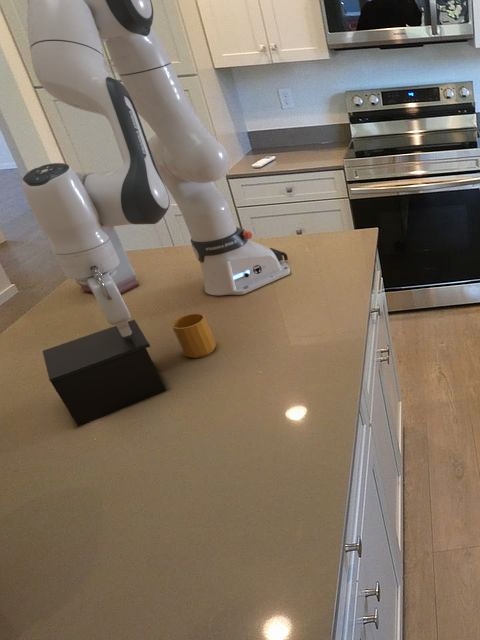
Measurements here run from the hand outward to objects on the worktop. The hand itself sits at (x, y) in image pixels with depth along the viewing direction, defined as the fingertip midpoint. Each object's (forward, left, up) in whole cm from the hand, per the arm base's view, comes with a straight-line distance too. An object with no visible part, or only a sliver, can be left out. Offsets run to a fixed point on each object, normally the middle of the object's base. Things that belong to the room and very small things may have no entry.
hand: (122, 327), depth 109 cm
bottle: (-3, -61, -13) cm, 62 cm away
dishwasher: (+6, 0, -12) cm, 14 cm away
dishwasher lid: (+6, 0, -3) cm, 6 cm away
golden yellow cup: (-12, -4, -12) cm, 17 cm away
